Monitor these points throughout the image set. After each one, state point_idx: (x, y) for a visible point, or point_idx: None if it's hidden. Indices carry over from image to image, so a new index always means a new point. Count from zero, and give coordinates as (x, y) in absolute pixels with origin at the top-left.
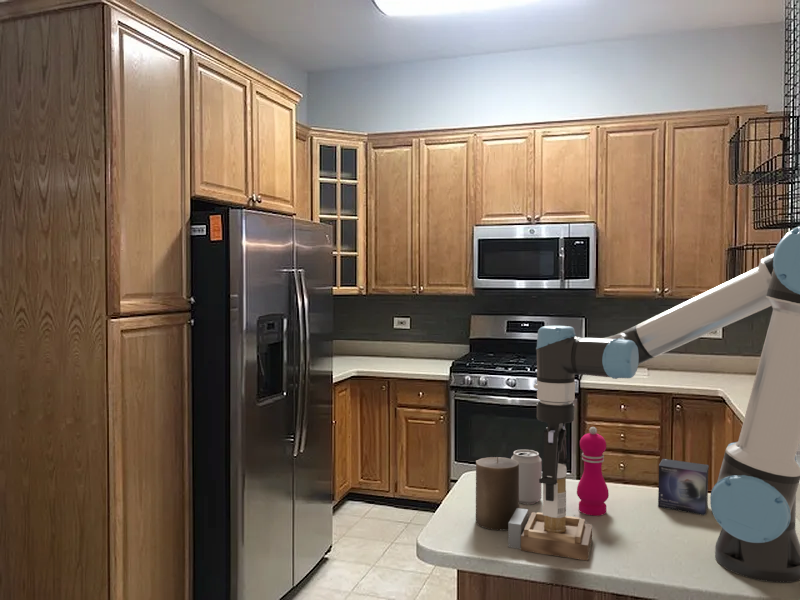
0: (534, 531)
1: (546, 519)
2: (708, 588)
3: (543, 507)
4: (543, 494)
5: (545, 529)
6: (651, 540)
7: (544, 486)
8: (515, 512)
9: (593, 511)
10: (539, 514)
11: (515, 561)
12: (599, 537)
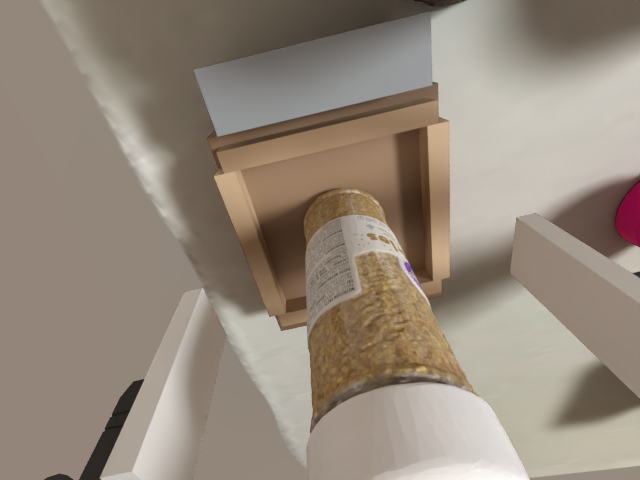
0: (226, 198)
1: (312, 226)
2: (300, 449)
3: (172, 321)
4: (143, 385)
5: (312, 203)
6: (471, 359)
7: (121, 448)
8: (359, 36)
9: (626, 225)
10: (426, 140)
11: (132, 144)
12: (447, 278)
